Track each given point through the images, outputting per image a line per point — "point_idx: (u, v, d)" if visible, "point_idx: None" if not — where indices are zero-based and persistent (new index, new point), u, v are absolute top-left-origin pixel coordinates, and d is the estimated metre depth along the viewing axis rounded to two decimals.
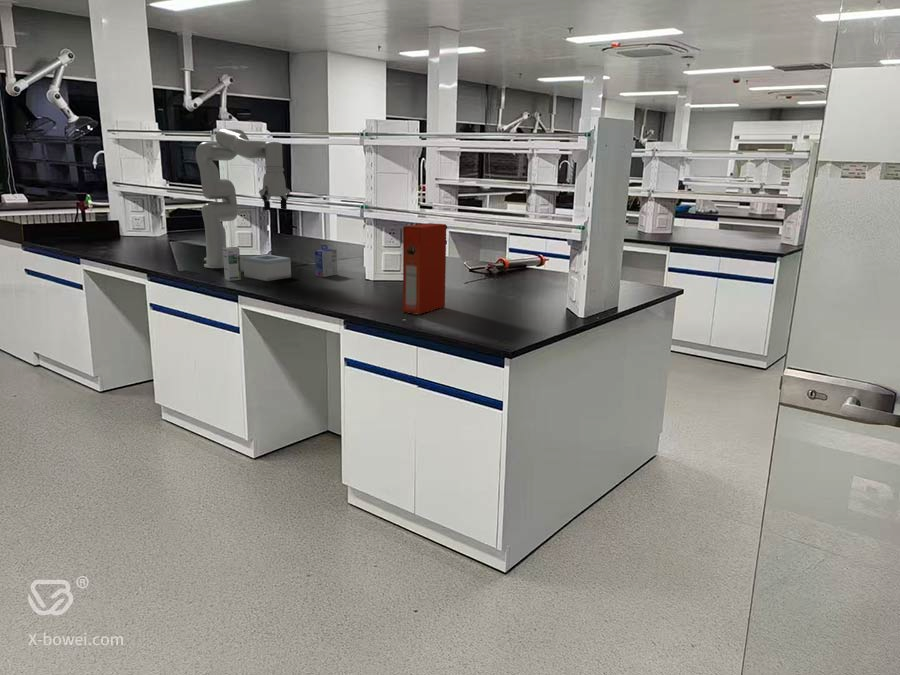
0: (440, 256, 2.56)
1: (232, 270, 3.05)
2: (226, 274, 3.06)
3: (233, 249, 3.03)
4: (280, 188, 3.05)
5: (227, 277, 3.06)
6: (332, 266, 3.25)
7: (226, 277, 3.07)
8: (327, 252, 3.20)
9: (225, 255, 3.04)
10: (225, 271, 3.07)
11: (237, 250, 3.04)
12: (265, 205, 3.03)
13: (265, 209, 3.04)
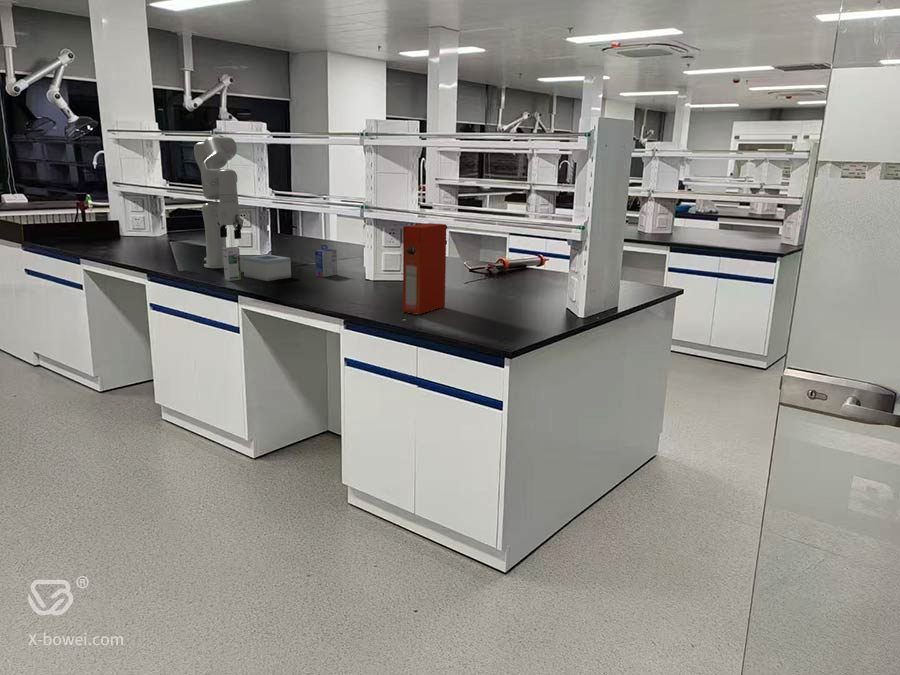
0: (440, 256, 2.56)
1: (232, 270, 3.05)
2: (226, 274, 3.06)
3: (233, 249, 3.03)
4: None
5: (227, 277, 3.06)
6: (332, 266, 3.25)
7: (226, 277, 3.07)
8: (327, 252, 3.20)
9: (225, 255, 3.04)
10: (225, 271, 3.07)
11: (237, 250, 3.04)
12: (239, 234, 3.00)
13: (236, 238, 3.00)
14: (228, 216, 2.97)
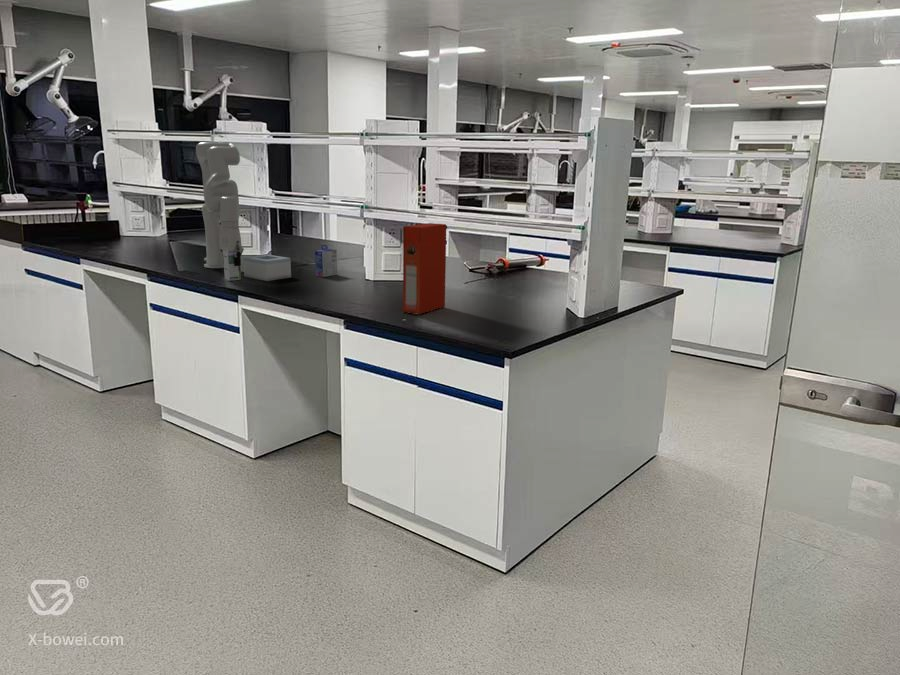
0: (440, 256, 2.56)
1: (232, 270, 3.05)
2: (226, 274, 3.06)
3: None
4: None
5: (227, 277, 3.05)
6: (332, 266, 3.25)
7: (226, 277, 3.07)
8: (327, 252, 3.20)
9: (225, 255, 3.04)
10: (225, 271, 3.07)
11: None
12: (238, 261, 3.04)
13: (236, 265, 3.04)
14: (229, 242, 3.00)
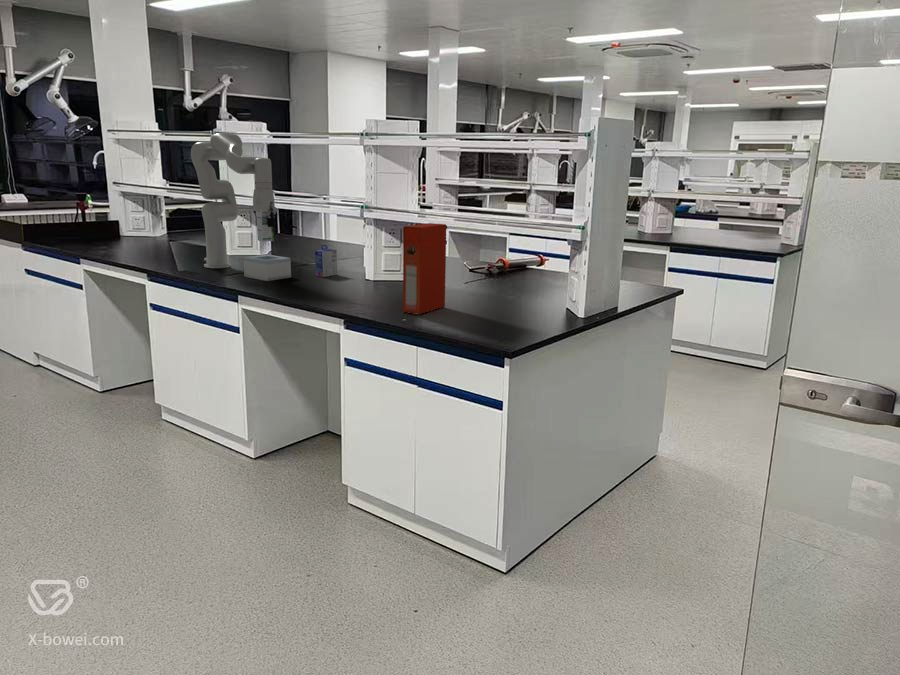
0: (440, 256, 2.56)
1: (265, 231, 3.09)
2: (259, 235, 3.10)
3: None
4: None
5: (260, 238, 3.10)
6: (332, 266, 3.25)
7: (259, 238, 3.11)
8: (327, 252, 3.20)
9: (258, 216, 3.08)
10: (258, 232, 3.11)
11: None
12: (272, 222, 3.08)
13: (269, 226, 3.08)
14: (263, 203, 3.04)
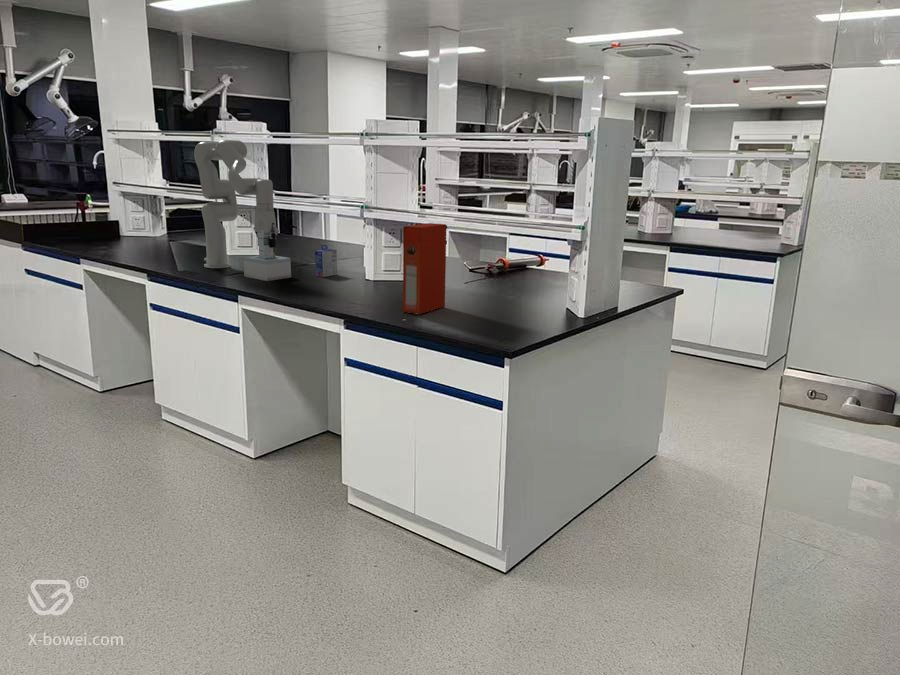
0: (440, 256, 2.56)
1: (267, 252, 3.11)
2: (261, 255, 3.13)
3: None
4: None
5: (262, 258, 3.12)
6: (332, 266, 3.25)
7: (261, 258, 3.13)
8: (327, 252, 3.20)
9: (260, 237, 3.10)
10: (260, 253, 3.13)
11: None
12: (273, 242, 3.10)
13: (271, 247, 3.10)
14: (265, 224, 3.07)
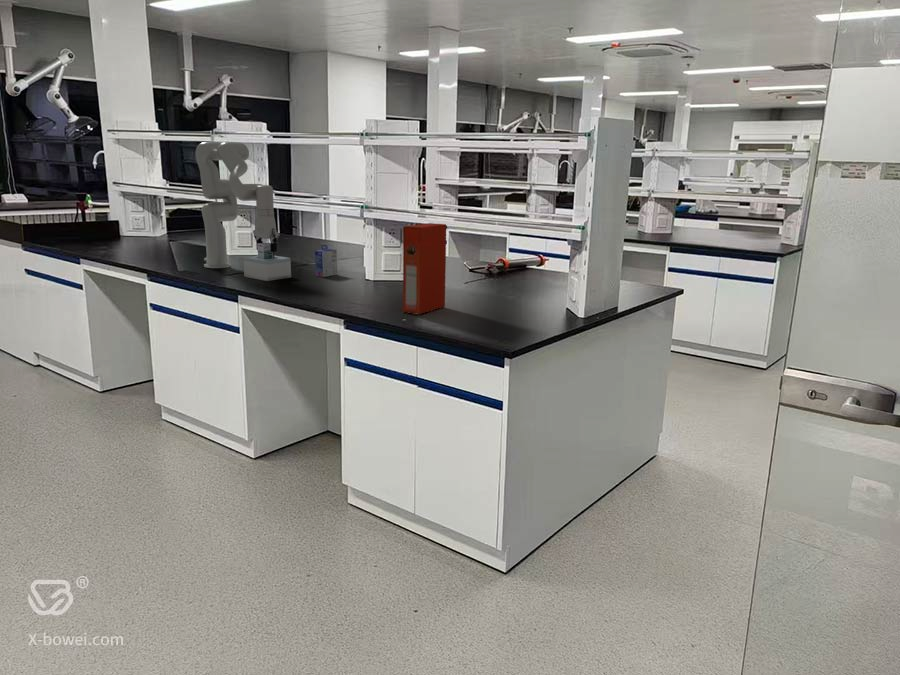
0: (440, 256, 2.56)
1: None
2: None
3: (268, 244, 3.12)
4: None
5: None
6: (332, 266, 3.25)
7: None
8: (327, 252, 3.20)
9: (260, 250, 3.12)
10: None
11: None
12: (275, 247, 3.10)
13: (272, 251, 3.10)
14: (265, 230, 3.08)
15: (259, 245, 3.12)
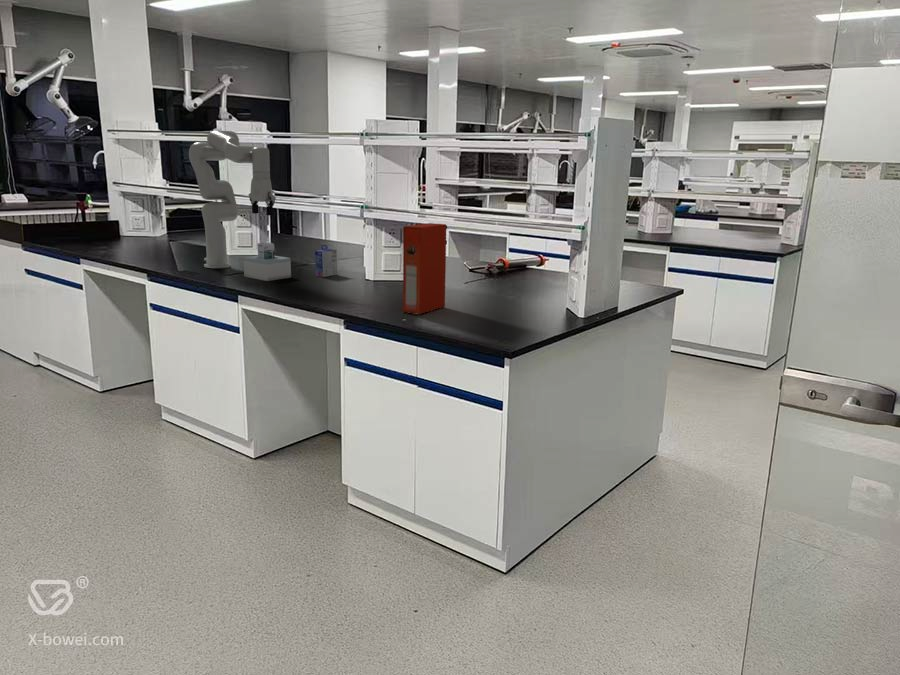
0: (440, 256, 2.56)
1: None
2: None
3: (268, 244, 3.12)
4: None
5: None
6: (332, 266, 3.25)
7: None
8: (327, 252, 3.20)
9: (260, 250, 3.12)
10: None
11: (272, 246, 3.13)
12: (271, 210, 3.07)
13: (268, 214, 3.07)
14: (261, 193, 3.04)
15: (259, 245, 3.12)
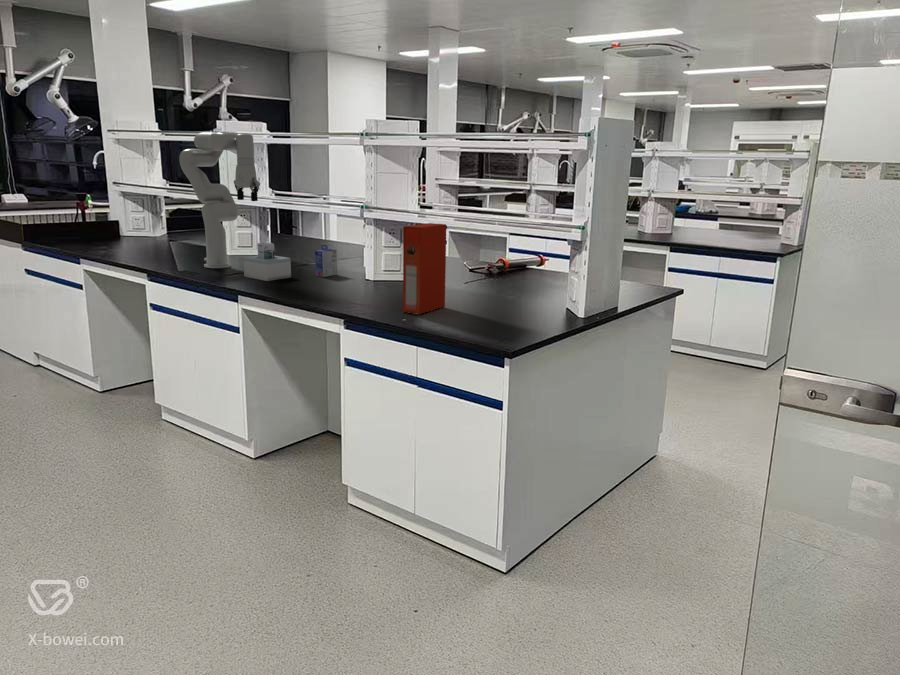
0: (440, 256, 2.56)
1: None
2: None
3: (268, 244, 3.12)
4: None
5: None
6: (332, 266, 3.25)
7: None
8: (327, 252, 3.20)
9: (260, 250, 3.12)
10: None
11: (272, 246, 3.13)
12: (255, 196, 3.11)
13: (253, 200, 3.11)
14: (245, 179, 3.09)
15: (259, 245, 3.12)
